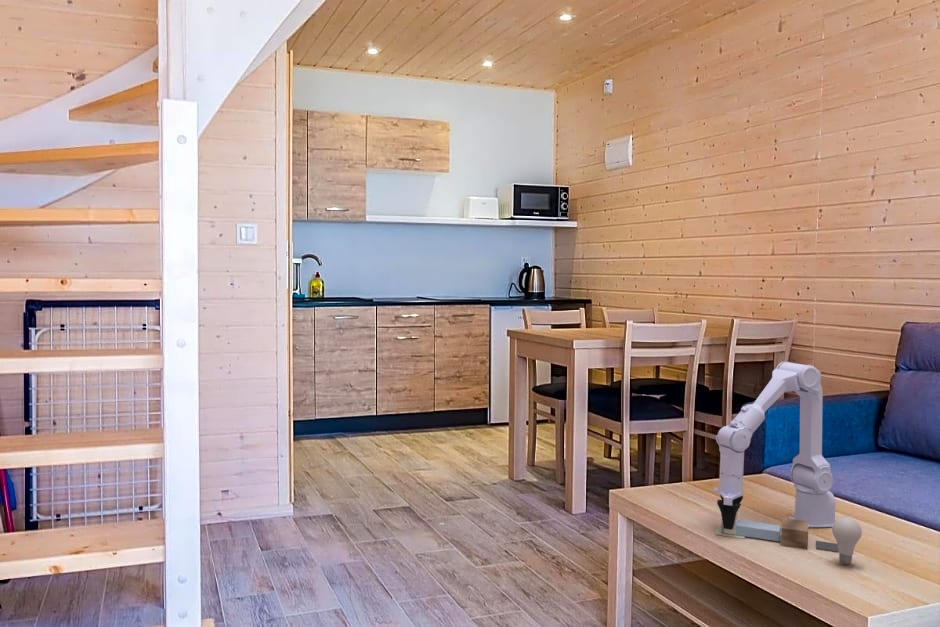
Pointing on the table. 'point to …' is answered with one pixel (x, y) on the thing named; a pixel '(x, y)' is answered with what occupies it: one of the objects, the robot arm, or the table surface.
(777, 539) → the block
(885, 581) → the table surface
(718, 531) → the mat
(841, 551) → the lightbulb
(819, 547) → the pad
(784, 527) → the tunnel
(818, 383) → the robot arm
